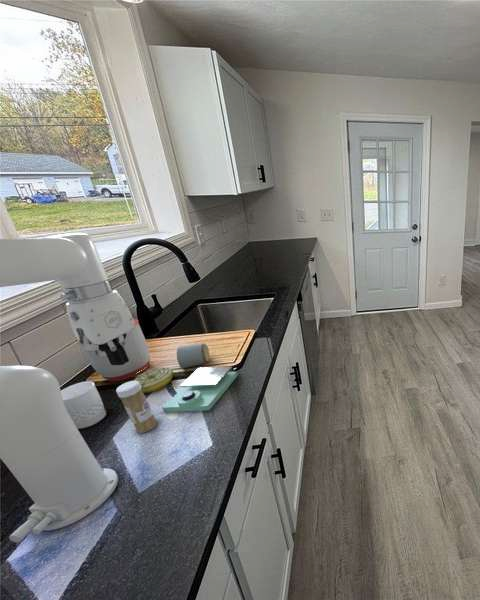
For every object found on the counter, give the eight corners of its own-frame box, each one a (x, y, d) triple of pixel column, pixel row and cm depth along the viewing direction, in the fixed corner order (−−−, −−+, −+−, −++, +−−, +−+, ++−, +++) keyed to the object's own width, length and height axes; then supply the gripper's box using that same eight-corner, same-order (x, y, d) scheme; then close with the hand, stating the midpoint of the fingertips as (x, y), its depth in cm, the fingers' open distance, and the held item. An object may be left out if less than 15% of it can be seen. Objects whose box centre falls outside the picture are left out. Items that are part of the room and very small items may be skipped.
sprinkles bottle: (155, 429, 81) (135, 388, 76) (134, 436, 80) (112, 393, 74) (159, 418, 85) (141, 377, 80) (139, 424, 84) (119, 383, 78)
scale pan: (216, 385, 92) (216, 384, 92) (180, 387, 93) (180, 385, 92) (232, 368, 101) (231, 366, 100) (199, 369, 101) (198, 367, 101)
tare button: (190, 400, 87) (189, 396, 87) (181, 401, 87) (180, 397, 87) (196, 394, 90) (195, 390, 89) (187, 394, 90) (186, 391, 89)
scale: (208, 411, 87) (205, 402, 86) (163, 412, 87) (159, 404, 86) (237, 375, 102) (235, 367, 101) (199, 377, 102) (196, 369, 101)
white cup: (86, 432, 82) (68, 402, 78) (63, 429, 84) (44, 399, 80) (116, 411, 89) (101, 382, 85) (95, 408, 91) (79, 380, 87)
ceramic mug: (208, 366, 108) (201, 346, 105) (181, 372, 105) (173, 353, 102) (212, 352, 117) (206, 333, 114) (187, 357, 114) (181, 339, 111)
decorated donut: (167, 370, 107) (163, 361, 105) (180, 380, 101) (176, 371, 99) (130, 387, 99) (125, 377, 98) (142, 399, 93) (137, 389, 92)
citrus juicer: (90, 395, 97) (59, 339, 89) (106, 368, 111) (80, 317, 103) (151, 378, 103) (128, 324, 96) (159, 354, 118) (139, 305, 110)
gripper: (70, 302, 61) (106, 381, 68) (134, 280, 75) (159, 347, 82) (34, 304, 62) (74, 382, 68) (104, 281, 76) (132, 348, 82)
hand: (120, 363), depth 75 cm, fingers closed
